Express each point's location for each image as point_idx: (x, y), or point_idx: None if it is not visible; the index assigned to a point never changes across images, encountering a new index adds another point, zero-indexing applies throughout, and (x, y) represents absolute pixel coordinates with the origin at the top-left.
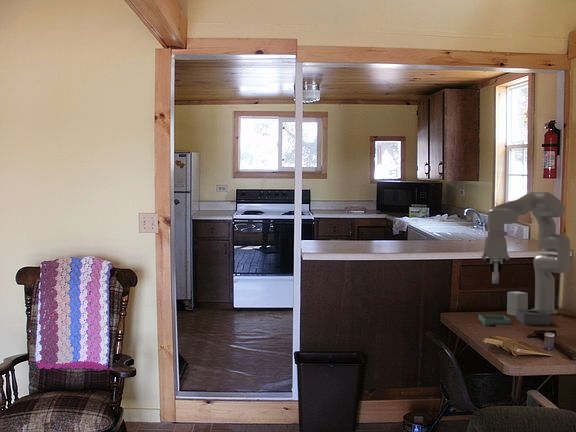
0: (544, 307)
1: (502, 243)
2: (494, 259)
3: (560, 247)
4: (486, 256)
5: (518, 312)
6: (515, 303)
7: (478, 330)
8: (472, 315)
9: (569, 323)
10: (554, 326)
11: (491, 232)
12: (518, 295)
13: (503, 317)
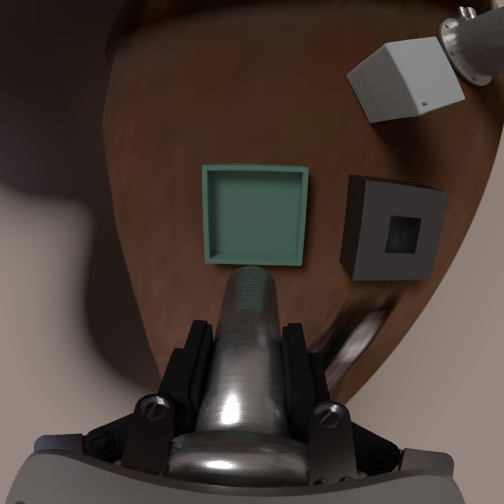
0: (475, 68)
1: None
2: None
3: None
4: (72, 457)
5: (360, 206)
6: (390, 108)
7: (179, 319)
8: (204, 77)
9: (475, 207)
10: None
11: None
12: (420, 114)
13: (301, 180)
